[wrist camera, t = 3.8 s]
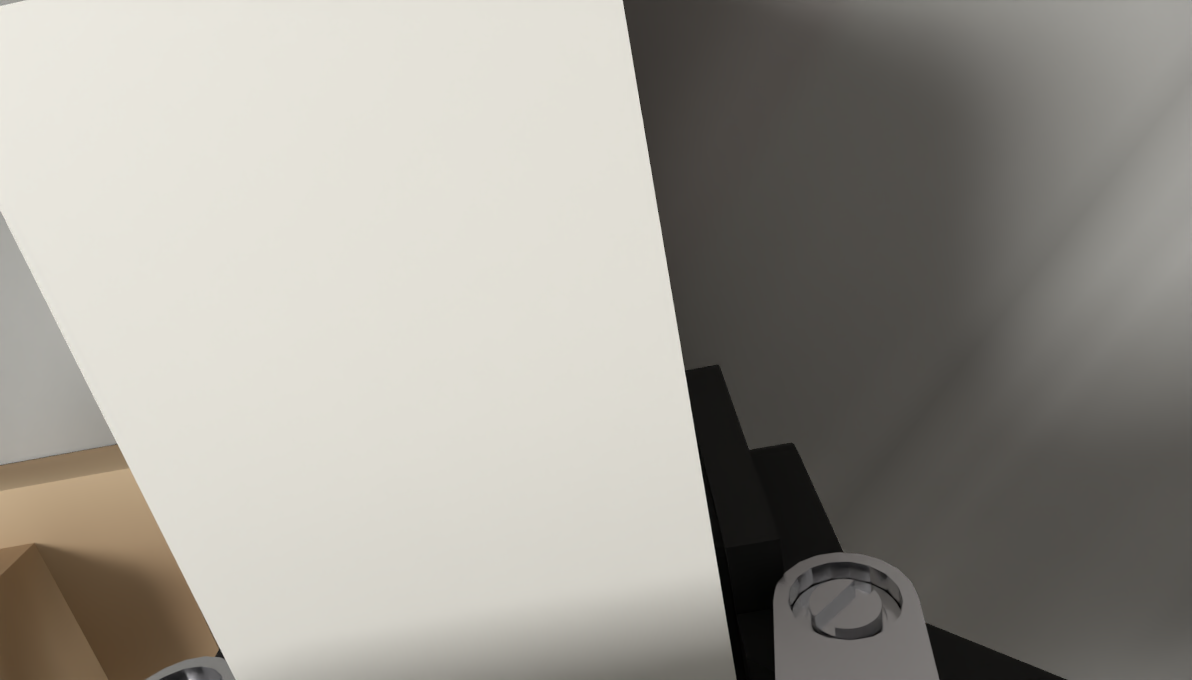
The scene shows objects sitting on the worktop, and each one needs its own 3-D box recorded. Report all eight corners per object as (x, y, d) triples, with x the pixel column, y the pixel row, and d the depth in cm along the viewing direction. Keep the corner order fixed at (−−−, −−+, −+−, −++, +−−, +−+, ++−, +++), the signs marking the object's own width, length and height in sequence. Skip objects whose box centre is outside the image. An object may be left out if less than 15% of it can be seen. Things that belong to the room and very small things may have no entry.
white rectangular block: (264, -2, 10) (-94, 27, 5) (590, -73, 10) (601, -126, 4) (526, 785, 16) (498, 1203, 10) (736, 753, 15) (817, 1164, 10)
